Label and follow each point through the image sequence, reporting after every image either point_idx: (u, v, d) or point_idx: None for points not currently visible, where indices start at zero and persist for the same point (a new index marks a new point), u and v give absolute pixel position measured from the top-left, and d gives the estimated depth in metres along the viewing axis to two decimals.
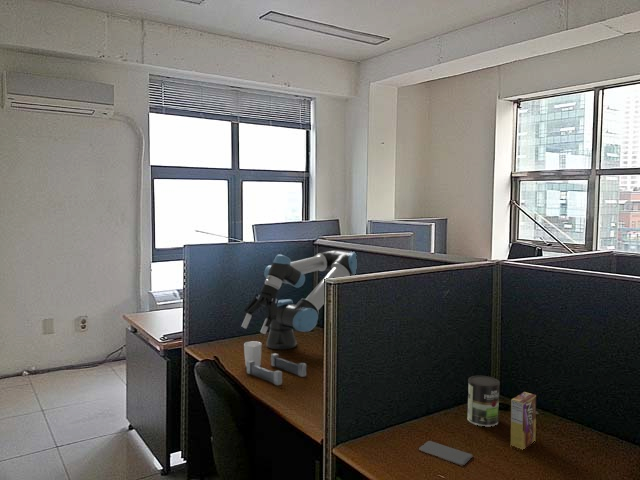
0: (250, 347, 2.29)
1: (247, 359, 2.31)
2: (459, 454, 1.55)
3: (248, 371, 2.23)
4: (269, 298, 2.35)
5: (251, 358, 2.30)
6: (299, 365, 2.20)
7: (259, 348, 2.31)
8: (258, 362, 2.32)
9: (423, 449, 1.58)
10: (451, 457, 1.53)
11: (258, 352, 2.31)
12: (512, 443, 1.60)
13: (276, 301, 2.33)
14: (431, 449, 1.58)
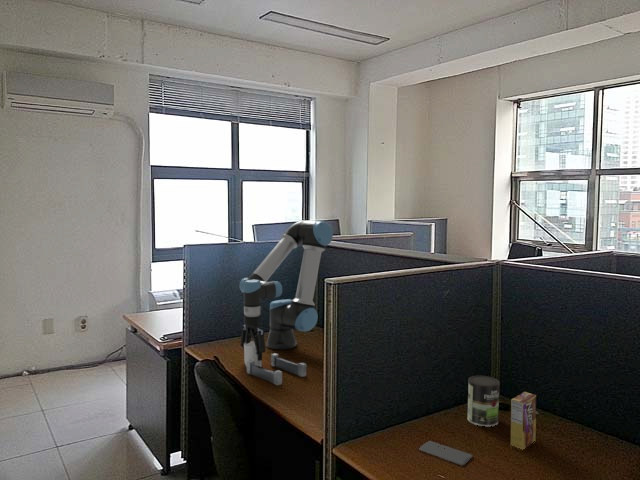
0: (250, 347, 2.29)
1: (247, 359, 2.31)
2: (459, 454, 1.55)
3: (248, 371, 2.23)
4: (255, 329, 2.29)
5: (251, 358, 2.30)
6: (299, 365, 2.20)
7: None
8: None
9: (423, 449, 1.58)
10: (451, 457, 1.53)
11: None
12: (512, 443, 1.60)
13: (262, 333, 2.28)
14: (431, 449, 1.58)
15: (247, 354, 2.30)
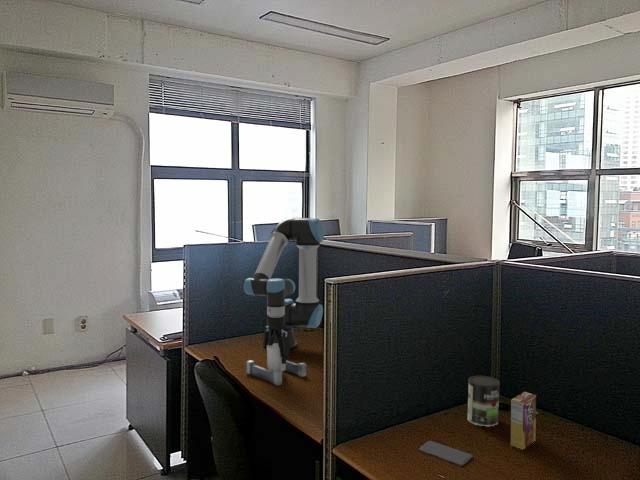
0: (274, 349, 2.18)
1: (270, 362, 2.19)
2: (459, 454, 1.54)
3: (248, 371, 2.23)
4: (278, 330, 2.18)
5: (275, 361, 2.18)
6: (299, 365, 2.20)
7: None
8: None
9: (423, 449, 1.58)
10: (451, 457, 1.53)
11: None
12: (512, 443, 1.60)
13: (286, 335, 2.16)
14: (431, 449, 1.58)
15: (270, 357, 2.19)
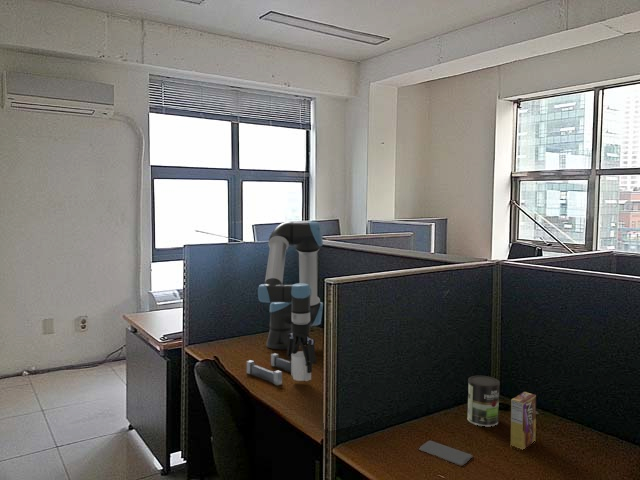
0: (299, 358, 2.07)
1: (295, 371, 2.09)
2: (459, 454, 1.54)
3: (248, 371, 2.23)
4: (304, 338, 2.07)
5: (300, 370, 2.08)
6: None
7: None
8: None
9: (423, 449, 1.58)
10: (451, 457, 1.53)
11: None
12: (512, 443, 1.60)
13: (312, 343, 2.06)
14: (431, 449, 1.58)
15: (295, 366, 2.08)
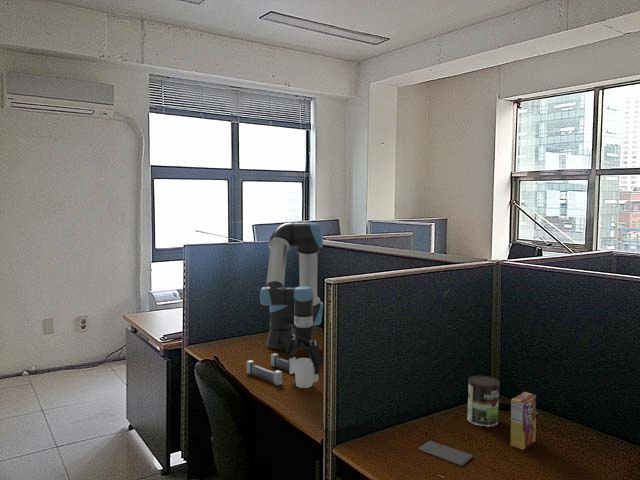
0: (302, 365, 2.06)
1: (298, 378, 2.08)
2: (459, 454, 1.54)
3: (248, 371, 2.23)
4: (307, 341, 2.06)
5: (303, 377, 2.07)
6: None
7: None
8: (311, 382, 2.09)
9: (423, 449, 1.58)
10: (451, 457, 1.53)
11: (310, 370, 2.08)
12: (512, 443, 1.60)
13: (316, 343, 2.05)
14: (431, 449, 1.58)
15: (298, 373, 2.07)
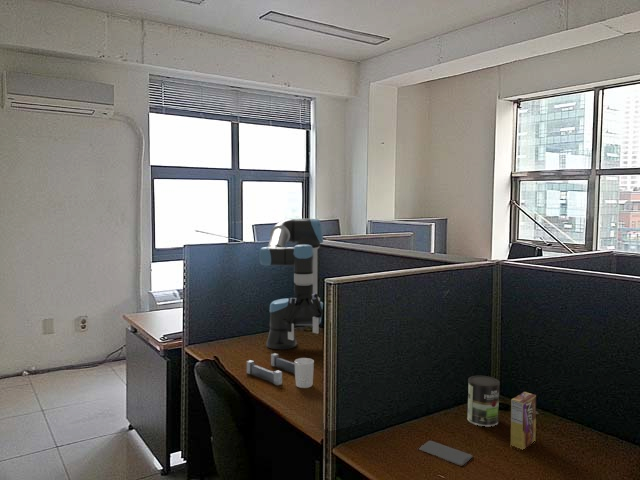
0: (302, 365, 2.06)
1: (298, 378, 2.08)
2: (459, 454, 1.54)
3: (248, 371, 2.23)
4: None
5: (303, 377, 2.07)
6: None
7: (312, 366, 2.08)
8: (311, 382, 2.09)
9: (423, 449, 1.58)
10: (450, 457, 1.53)
11: (310, 370, 2.08)
12: (512, 443, 1.60)
13: (290, 301, 2.03)
14: (431, 449, 1.58)
15: (298, 373, 2.07)
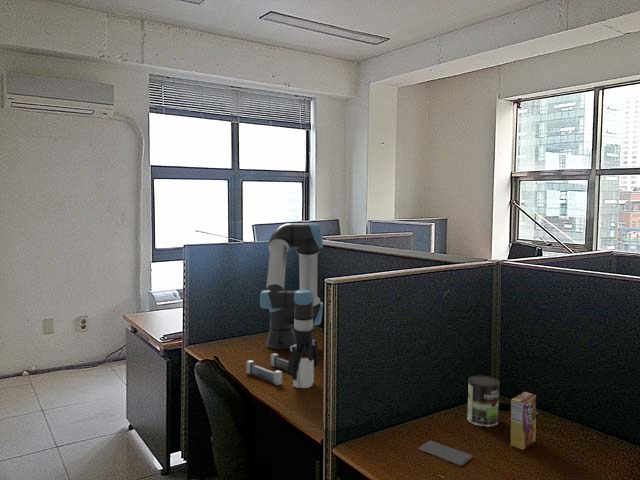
0: (302, 365, 2.06)
1: None
2: (459, 454, 1.54)
3: (248, 371, 2.23)
4: None
5: (303, 377, 2.07)
6: None
7: (312, 366, 2.08)
8: (311, 382, 2.09)
9: (423, 448, 1.58)
10: (450, 457, 1.53)
11: (310, 370, 2.08)
12: (512, 443, 1.60)
13: (291, 350, 2.05)
14: (431, 449, 1.58)
15: None
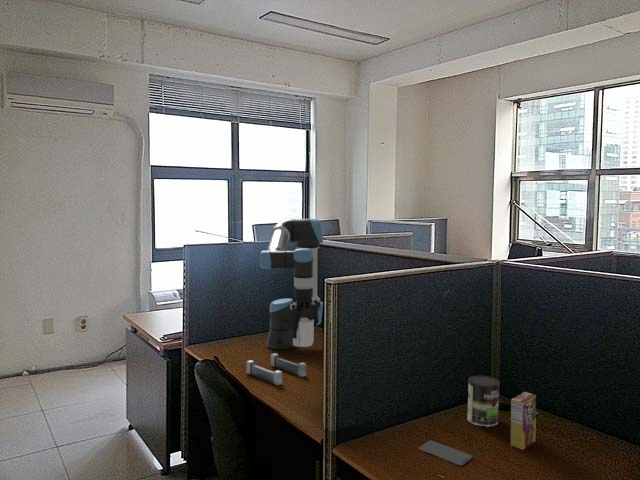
0: (302, 323, 2.04)
1: None
2: (459, 454, 1.54)
3: (248, 371, 2.23)
4: None
5: (303, 336, 2.05)
6: (299, 365, 2.20)
7: (311, 325, 2.06)
8: (311, 341, 2.07)
9: (423, 448, 1.58)
10: (450, 457, 1.53)
11: (310, 329, 2.06)
12: (512, 443, 1.60)
13: (291, 308, 2.03)
14: (431, 448, 1.58)
15: None
